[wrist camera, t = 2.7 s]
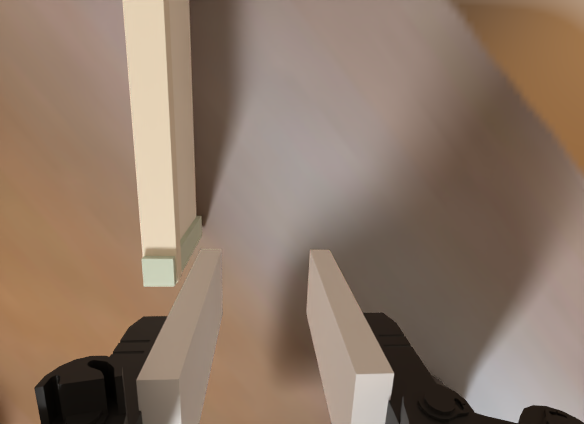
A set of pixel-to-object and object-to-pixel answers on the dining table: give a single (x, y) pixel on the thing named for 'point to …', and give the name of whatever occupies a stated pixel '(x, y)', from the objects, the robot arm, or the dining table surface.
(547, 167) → the dining table surface
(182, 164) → the gate
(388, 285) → the dining table surface
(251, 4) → the dining table surface
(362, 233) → the dining table surface
